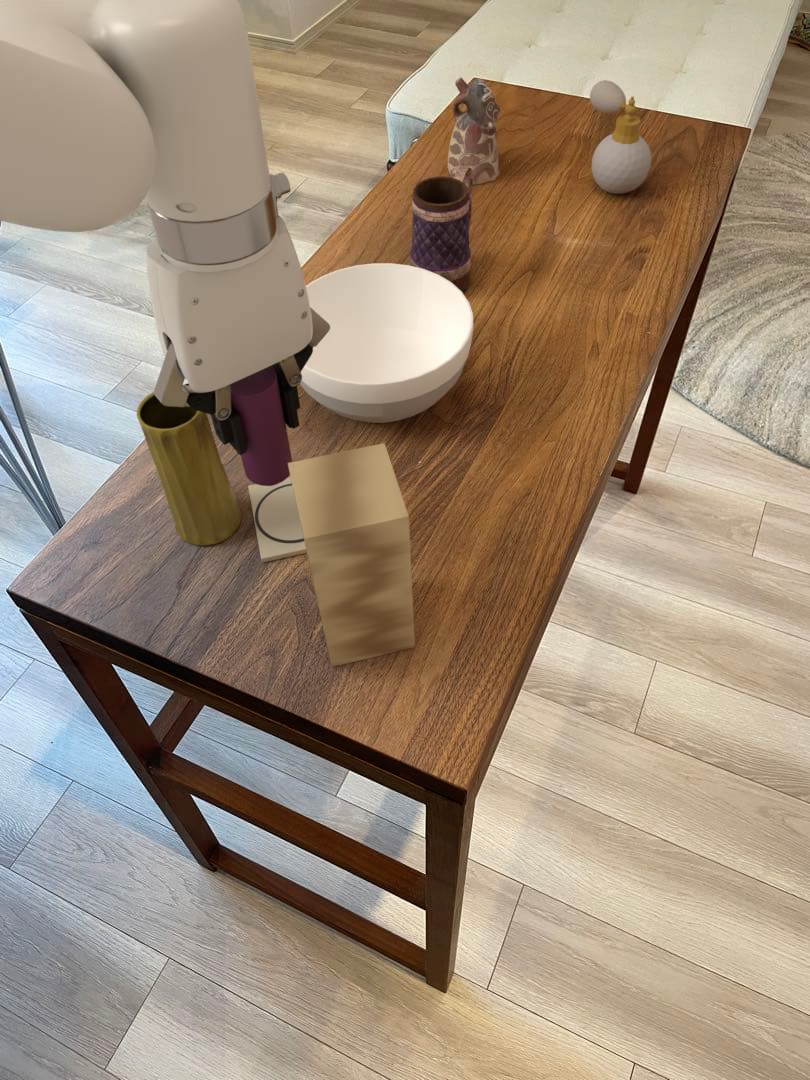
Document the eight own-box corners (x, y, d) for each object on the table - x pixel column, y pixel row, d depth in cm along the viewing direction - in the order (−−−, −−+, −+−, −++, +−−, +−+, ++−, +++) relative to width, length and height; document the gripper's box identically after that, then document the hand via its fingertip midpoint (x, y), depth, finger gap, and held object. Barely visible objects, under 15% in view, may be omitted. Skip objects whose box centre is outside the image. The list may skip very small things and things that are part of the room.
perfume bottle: (632, 209, 107) (651, 114, 97) (563, 190, 110) (574, 96, 101) (654, 181, 111) (673, 87, 101) (586, 164, 114) (599, 72, 104)
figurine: (488, 189, 111) (492, 96, 101) (439, 179, 113) (439, 87, 103) (507, 163, 115) (512, 72, 105) (459, 154, 117) (460, 63, 107)
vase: (236, 546, 75) (200, 434, 64) (170, 547, 75) (122, 435, 64) (246, 495, 79) (213, 381, 68) (182, 496, 79) (139, 382, 68)
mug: (451, 307, 96) (452, 211, 86) (399, 289, 98) (395, 193, 88) (493, 262, 101) (499, 166, 91) (442, 246, 103) (443, 151, 94)
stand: (331, 667, 67) (304, 538, 54) (316, 598, 72) (287, 462, 58) (415, 647, 68) (409, 516, 55) (395, 580, 72) (384, 442, 59)
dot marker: (249, 497, 68) (225, 400, 60) (243, 462, 71) (219, 365, 62) (297, 487, 69) (280, 390, 61) (290, 453, 71) (272, 356, 63)
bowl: (256, 412, 86) (240, 345, 79) (354, 312, 96) (347, 244, 89) (414, 477, 80) (411, 410, 73) (502, 363, 89) (507, 294, 82)
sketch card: (262, 562, 74) (260, 558, 73) (249, 489, 79) (247, 484, 79) (382, 536, 75) (381, 532, 75) (361, 466, 81) (360, 461, 80)
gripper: (298, 152, 56) (324, 364, 71) (62, 237, 50) (143, 449, 65) (360, 198, 52) (374, 412, 67) (113, 296, 47) (187, 508, 61)
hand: (260, 429), depth 66 cm, fingers closed on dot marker, 4 cm apart
